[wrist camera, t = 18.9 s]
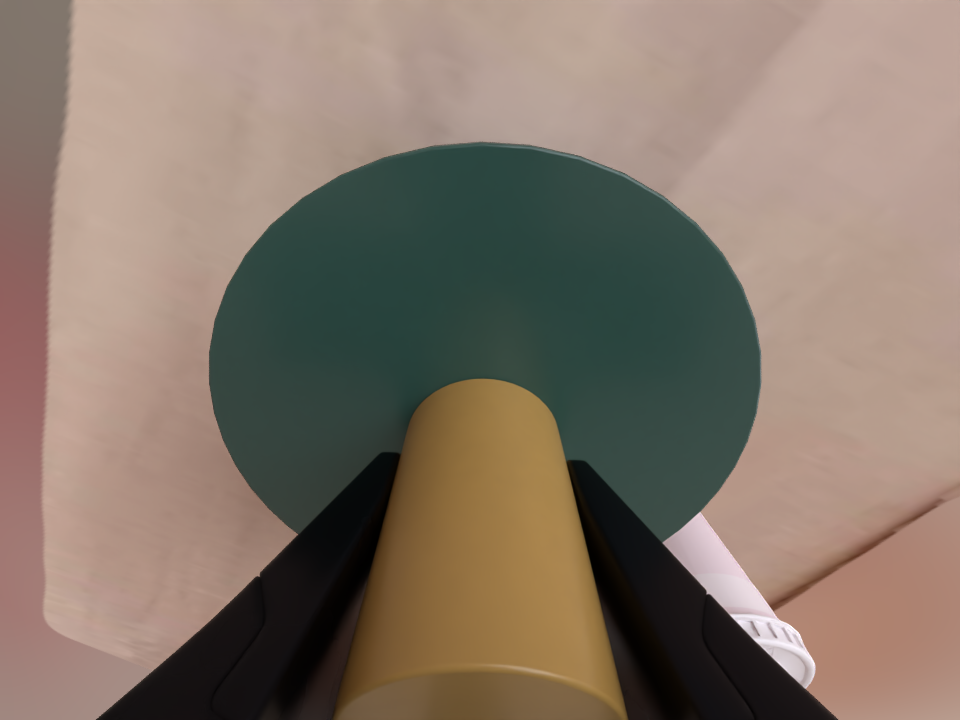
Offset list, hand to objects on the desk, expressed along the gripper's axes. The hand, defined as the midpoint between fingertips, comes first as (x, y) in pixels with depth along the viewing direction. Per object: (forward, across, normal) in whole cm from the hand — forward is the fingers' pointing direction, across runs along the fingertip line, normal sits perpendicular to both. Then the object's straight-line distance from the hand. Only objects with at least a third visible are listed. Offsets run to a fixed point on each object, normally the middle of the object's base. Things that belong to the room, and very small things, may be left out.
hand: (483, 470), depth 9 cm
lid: (+1, 0, 0) cm, 1 cm away
